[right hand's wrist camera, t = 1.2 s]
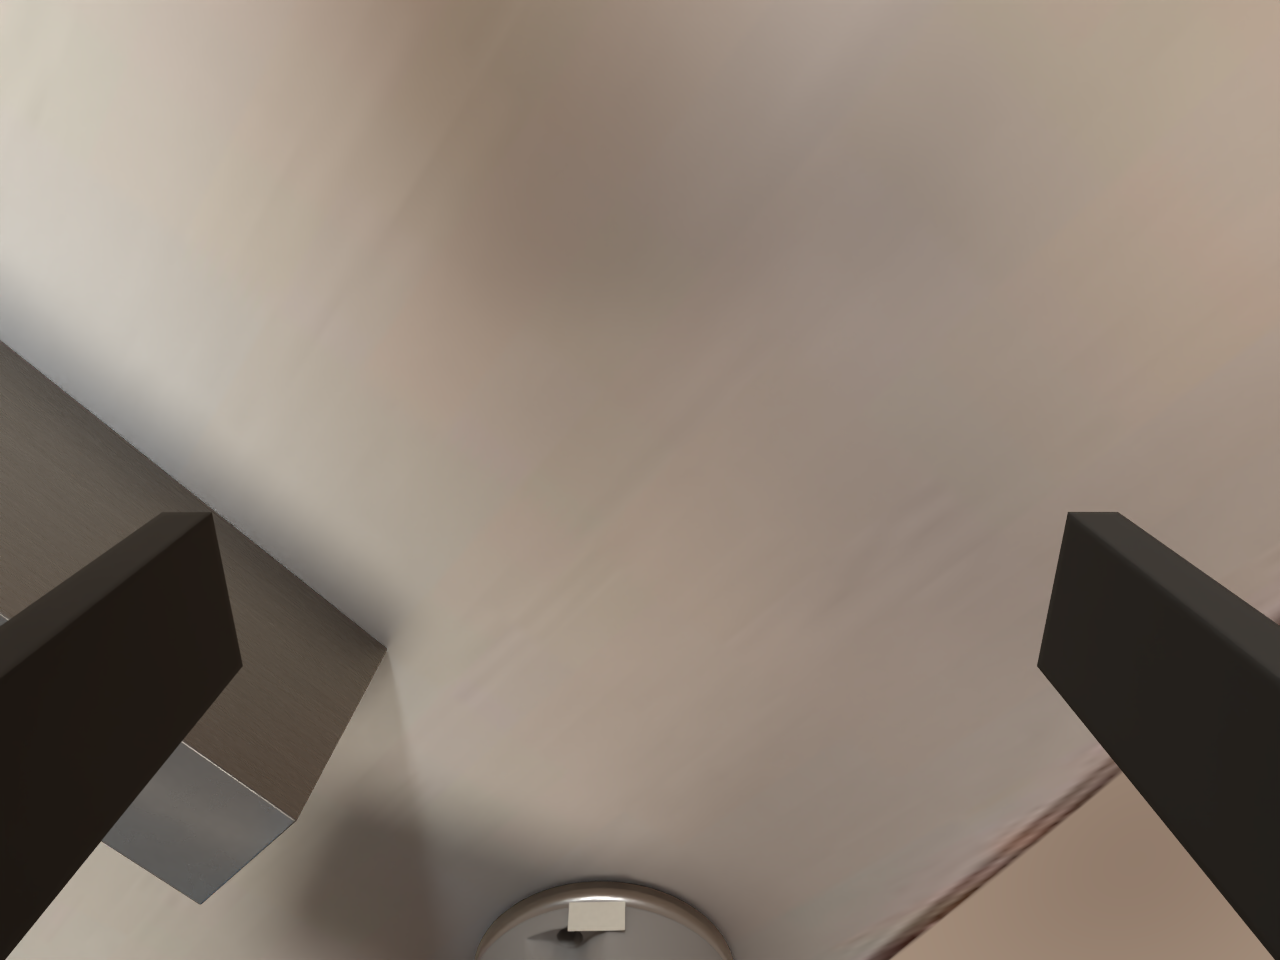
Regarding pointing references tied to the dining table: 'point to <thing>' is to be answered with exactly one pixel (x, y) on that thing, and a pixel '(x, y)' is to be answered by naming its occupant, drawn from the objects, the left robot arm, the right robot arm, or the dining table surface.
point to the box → (264, 621)
